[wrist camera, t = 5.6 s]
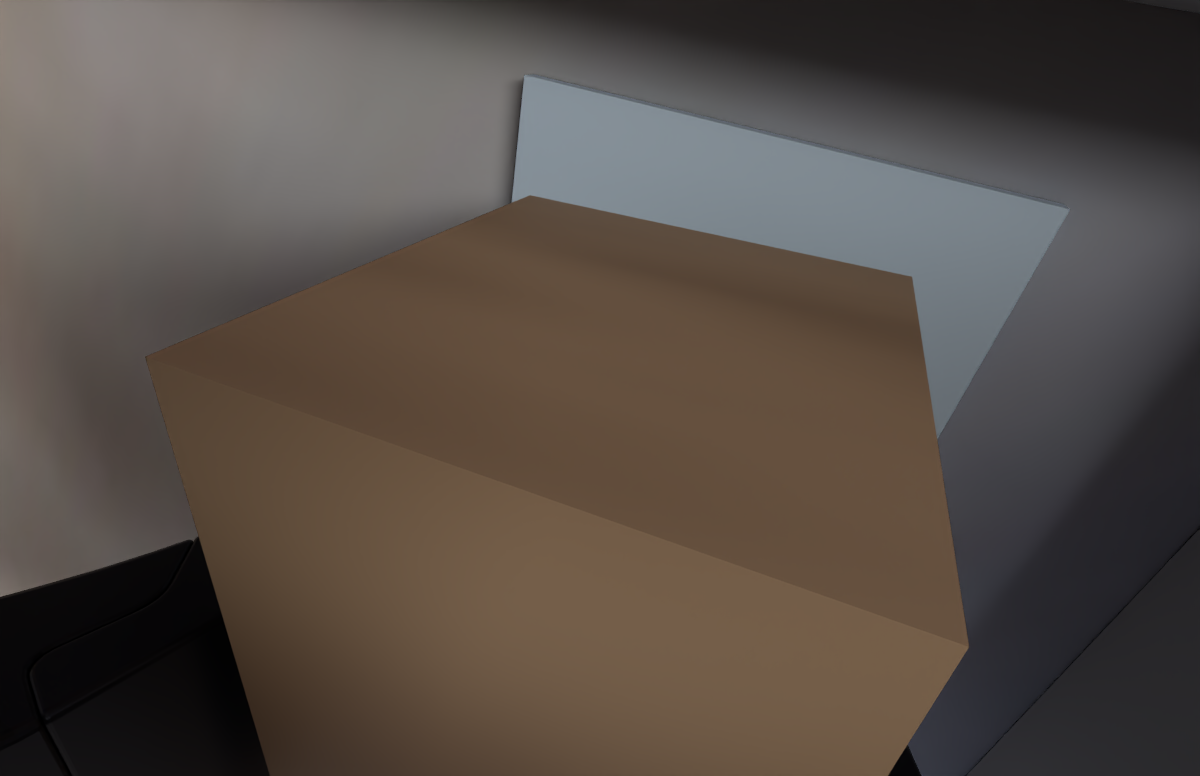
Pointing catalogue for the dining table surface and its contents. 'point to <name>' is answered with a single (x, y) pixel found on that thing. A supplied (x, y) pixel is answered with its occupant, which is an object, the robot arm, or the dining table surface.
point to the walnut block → (575, 507)
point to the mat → (797, 208)
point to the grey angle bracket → (1122, 681)
